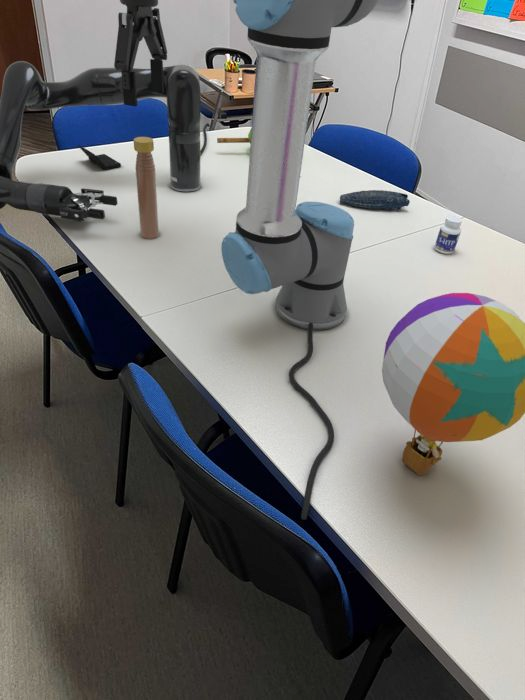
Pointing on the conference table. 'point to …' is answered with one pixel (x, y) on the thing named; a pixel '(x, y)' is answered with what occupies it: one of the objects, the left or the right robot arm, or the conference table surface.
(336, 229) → the right robot arm
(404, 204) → the fish model
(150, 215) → the bottle
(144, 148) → the cap
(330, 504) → the conference table surface
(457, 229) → the pill bottle
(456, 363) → the toy
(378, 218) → the conference table surface
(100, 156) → the black angled piece
